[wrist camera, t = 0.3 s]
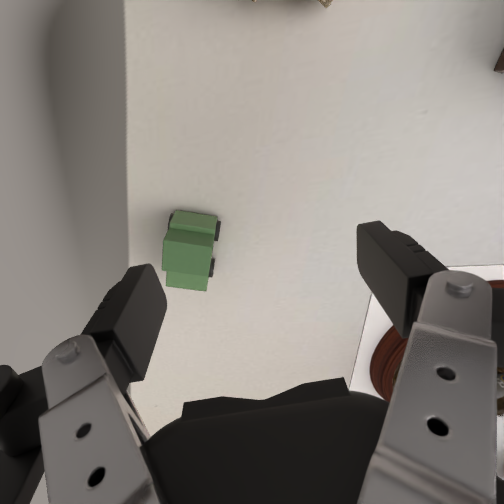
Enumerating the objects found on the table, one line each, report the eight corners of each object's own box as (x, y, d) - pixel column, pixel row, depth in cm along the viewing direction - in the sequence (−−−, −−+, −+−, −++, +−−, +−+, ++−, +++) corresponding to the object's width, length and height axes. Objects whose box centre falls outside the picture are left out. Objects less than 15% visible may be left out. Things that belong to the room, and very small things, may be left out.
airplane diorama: (391, 283, 34) (439, 344, 26) (603, 275, 35) (713, 332, 27) (355, 413, 47) (380, 481, 39) (511, 406, 47) (566, 470, 39)
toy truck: (172, 207, 28) (158, 233, 23) (221, 215, 29) (218, 242, 24) (168, 266, 32) (155, 301, 26) (212, 272, 32) (208, 307, 27)
